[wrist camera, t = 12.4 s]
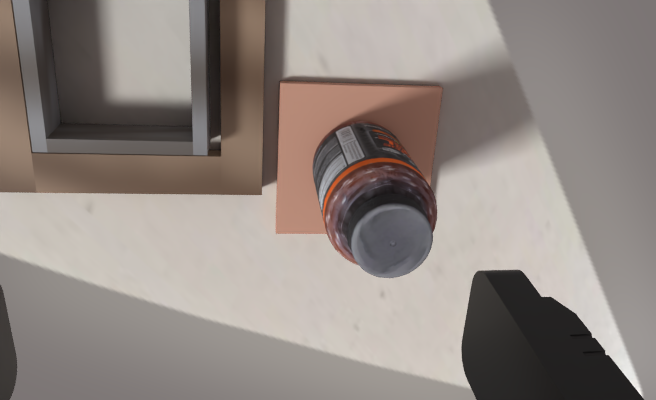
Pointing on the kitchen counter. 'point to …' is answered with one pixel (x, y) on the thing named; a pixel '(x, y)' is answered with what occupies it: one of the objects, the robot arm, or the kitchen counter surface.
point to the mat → (332, 111)
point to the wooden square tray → (132, 140)
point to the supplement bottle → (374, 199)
